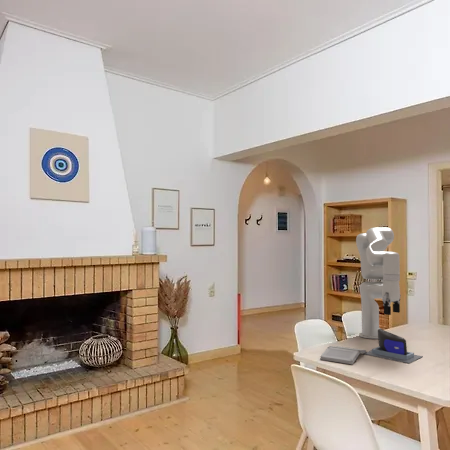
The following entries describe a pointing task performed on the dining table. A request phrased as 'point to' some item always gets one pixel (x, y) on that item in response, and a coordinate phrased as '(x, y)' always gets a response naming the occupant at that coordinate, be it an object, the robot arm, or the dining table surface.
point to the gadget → (341, 354)
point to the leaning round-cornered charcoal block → (391, 342)
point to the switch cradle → (393, 355)
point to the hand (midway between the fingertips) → (391, 313)
